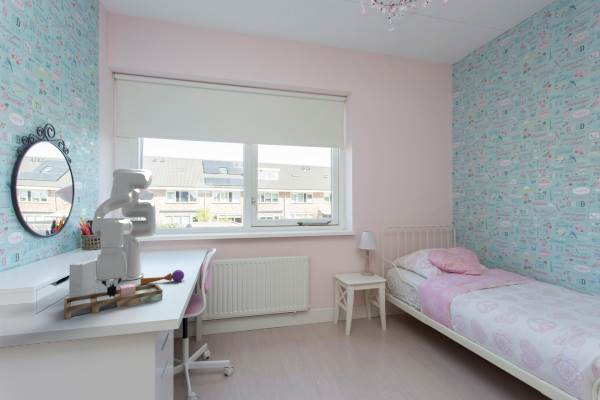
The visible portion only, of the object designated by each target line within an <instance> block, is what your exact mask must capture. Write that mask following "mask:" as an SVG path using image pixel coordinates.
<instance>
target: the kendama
mask: <svg viewBox="0 0 600 400" xmlns="http://www.w3.org/2000/svg"><path fill="white" fill-rule="evenodd" d="M184 277H185V273H184V271H183V270H181V269H176V270H174V271H173V272H172V273H171V272H170V273H168V274H166V275H165V276H161V277H160V276H159V277H142V278H140V286H143V285H148V284H152V283H155V282H159V281H161V280H167V281H168V282H169V281H170V282H172V281H174V282H175V283H176V282H182V280H184Z"/></svg>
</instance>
